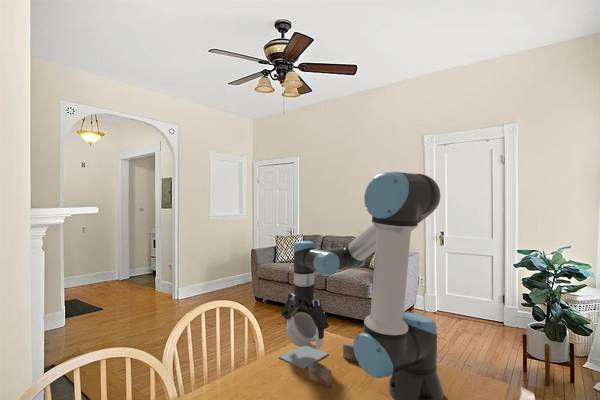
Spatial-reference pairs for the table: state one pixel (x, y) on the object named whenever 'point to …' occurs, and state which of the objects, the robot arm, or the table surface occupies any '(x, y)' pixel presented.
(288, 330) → the teacup
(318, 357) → the mat
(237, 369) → the table surface
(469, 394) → the table surface
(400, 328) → the robot arm
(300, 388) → the table surface
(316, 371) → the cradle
